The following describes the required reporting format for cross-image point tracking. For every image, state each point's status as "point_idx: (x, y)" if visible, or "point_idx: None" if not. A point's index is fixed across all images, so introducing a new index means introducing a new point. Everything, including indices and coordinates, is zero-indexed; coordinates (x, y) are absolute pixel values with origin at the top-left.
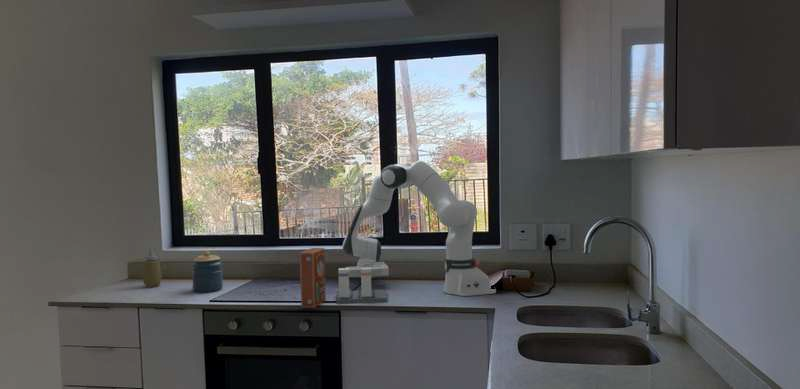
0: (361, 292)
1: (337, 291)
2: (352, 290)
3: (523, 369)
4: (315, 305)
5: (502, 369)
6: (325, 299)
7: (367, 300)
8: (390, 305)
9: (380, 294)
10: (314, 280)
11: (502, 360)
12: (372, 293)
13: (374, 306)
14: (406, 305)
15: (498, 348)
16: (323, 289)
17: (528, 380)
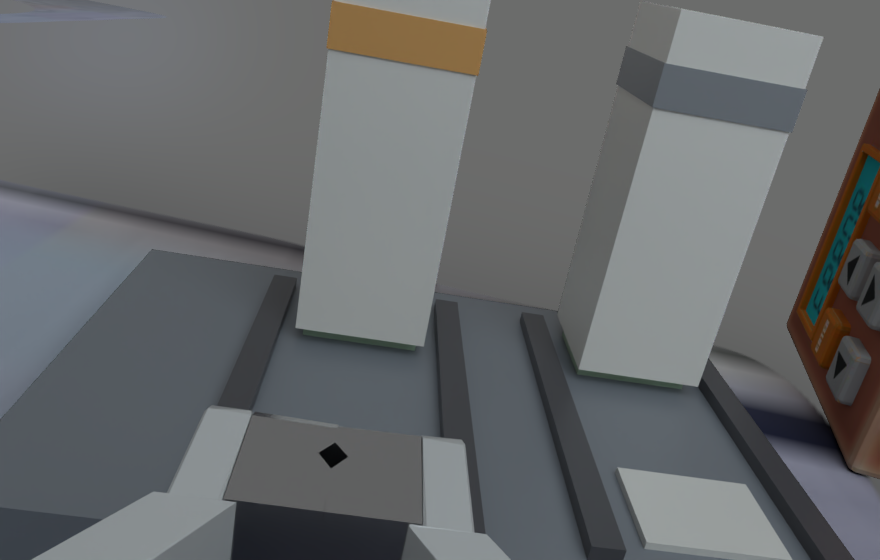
0: None
1: (843, 551)
2: (599, 545)
3: (80, 7)
4: (794, 322)
5: (123, 15)
6: (849, 458)
7: None
8: (166, 230)
9: (163, 336)
10: (874, 110)
11: (89, 16)
12: (259, 391)
13: None
14: (32, 202)
15: (40, 20)
16: (864, 289)
17: (109, 5)
